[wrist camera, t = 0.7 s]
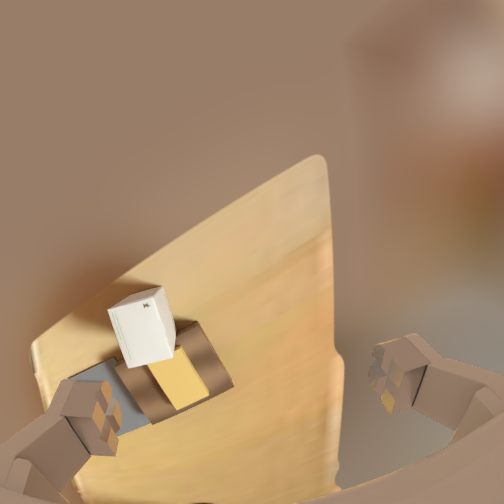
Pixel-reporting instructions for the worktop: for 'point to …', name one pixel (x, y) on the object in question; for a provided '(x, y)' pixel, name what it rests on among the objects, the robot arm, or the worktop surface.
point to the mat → (117, 394)
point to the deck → (202, 360)
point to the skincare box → (144, 327)
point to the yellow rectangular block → (179, 379)
